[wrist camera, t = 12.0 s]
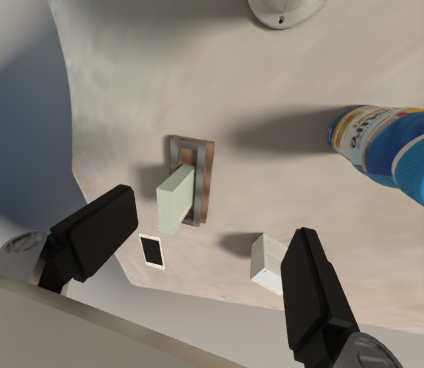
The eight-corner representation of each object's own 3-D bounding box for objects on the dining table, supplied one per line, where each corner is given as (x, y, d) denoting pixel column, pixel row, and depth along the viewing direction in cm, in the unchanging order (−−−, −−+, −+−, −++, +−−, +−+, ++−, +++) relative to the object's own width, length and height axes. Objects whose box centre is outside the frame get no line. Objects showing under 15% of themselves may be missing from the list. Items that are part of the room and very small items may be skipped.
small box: (251, 244, 47) (248, 279, 38) (263, 231, 44) (263, 267, 35) (276, 258, 47) (280, 297, 38) (290, 247, 44) (297, 286, 35)
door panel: (183, 164, 39) (156, 188, 29) (196, 166, 39) (172, 192, 29) (182, 199, 44) (159, 231, 34) (194, 202, 44) (173, 235, 33)
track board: (171, 134, 38) (164, 137, 35) (214, 142, 36) (211, 145, 34) (172, 212, 49) (167, 219, 46) (206, 220, 47) (202, 228, 44)
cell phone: (146, 263, 65) (145, 265, 64) (139, 231, 57) (138, 233, 57) (165, 268, 63) (164, 269, 63) (160, 236, 56) (159, 237, 55)
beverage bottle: (335, 162, 32) (419, 238, 15) (316, 123, 30) (388, 161, 13) (391, 137, 29) (587, 201, 11) (373, 91, 27) (579, 85, 9)
